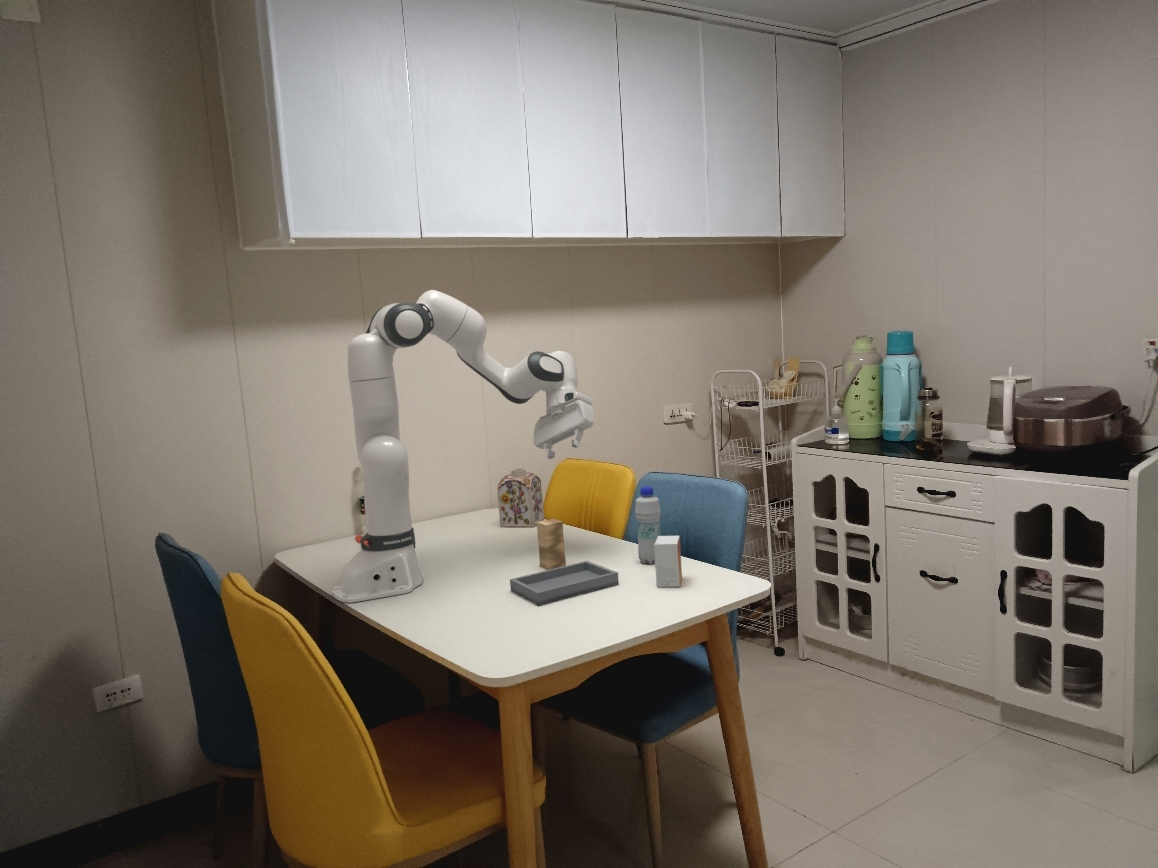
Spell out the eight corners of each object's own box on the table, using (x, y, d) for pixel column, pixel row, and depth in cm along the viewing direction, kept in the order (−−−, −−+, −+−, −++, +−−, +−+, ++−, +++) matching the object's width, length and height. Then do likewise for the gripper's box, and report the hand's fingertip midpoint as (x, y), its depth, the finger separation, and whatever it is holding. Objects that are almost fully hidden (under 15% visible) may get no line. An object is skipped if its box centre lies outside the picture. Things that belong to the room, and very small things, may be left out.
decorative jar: (512, 519, 273) (507, 466, 271) (545, 519, 270) (541, 465, 267) (499, 528, 261) (494, 473, 259) (533, 528, 258) (529, 472, 256)
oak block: (549, 570, 211) (545, 525, 209) (540, 566, 215) (536, 522, 214) (565, 566, 213) (562, 521, 212) (556, 562, 218) (553, 518, 216)
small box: (680, 587, 190) (677, 543, 188) (656, 587, 191) (653, 544, 190) (682, 577, 198) (680, 535, 196) (659, 577, 199) (657, 535, 197)
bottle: (669, 560, 212) (664, 485, 209) (650, 566, 208) (646, 490, 205) (651, 556, 217) (646, 483, 214) (632, 562, 213) (628, 487, 210)
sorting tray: (538, 605, 184) (537, 593, 183) (510, 591, 196) (509, 579, 195) (618, 584, 195) (617, 572, 195) (587, 572, 207) (587, 560, 207)
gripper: (528, 416, 227) (528, 461, 220) (580, 389, 214) (582, 436, 208) (544, 423, 231) (544, 467, 224) (596, 397, 218) (599, 443, 212)
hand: (563, 452), depth 216 cm, fingers open, 8 cm apart
